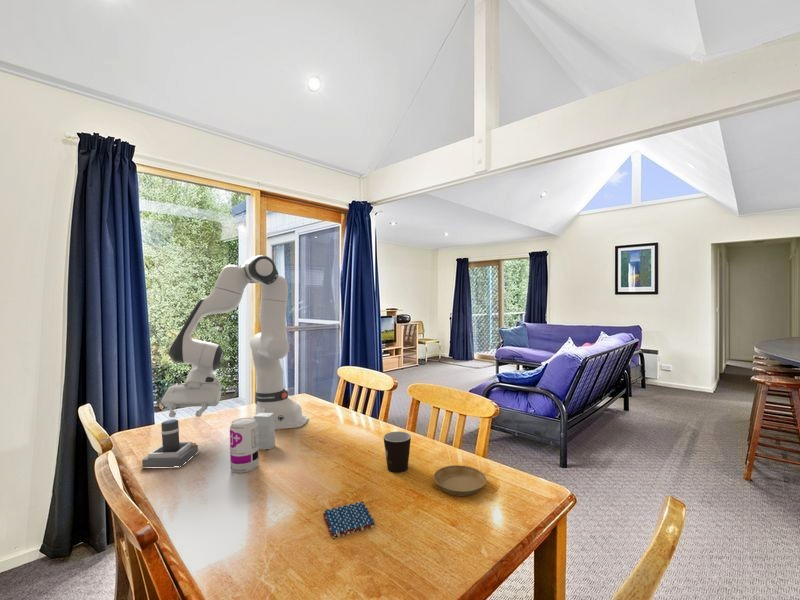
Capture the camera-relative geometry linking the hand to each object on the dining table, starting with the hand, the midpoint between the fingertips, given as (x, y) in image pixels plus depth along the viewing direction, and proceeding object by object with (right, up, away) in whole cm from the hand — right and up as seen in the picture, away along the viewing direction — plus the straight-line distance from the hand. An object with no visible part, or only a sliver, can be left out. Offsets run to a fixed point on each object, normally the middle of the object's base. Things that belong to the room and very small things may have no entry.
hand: (184, 416), depth 137 cm
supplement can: (+30, -11, -18) cm, 36 cm away
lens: (+2, -8, -12) cm, 15 cm away
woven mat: (+66, -11, -47) cm, 82 cm away
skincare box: (+30, -11, -2) cm, 32 cm away
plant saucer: (+96, -10, -31) cm, 101 cm away
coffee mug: (+79, -10, -18) cm, 81 cm away
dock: (+2, -11, -12) cm, 16 cm away
